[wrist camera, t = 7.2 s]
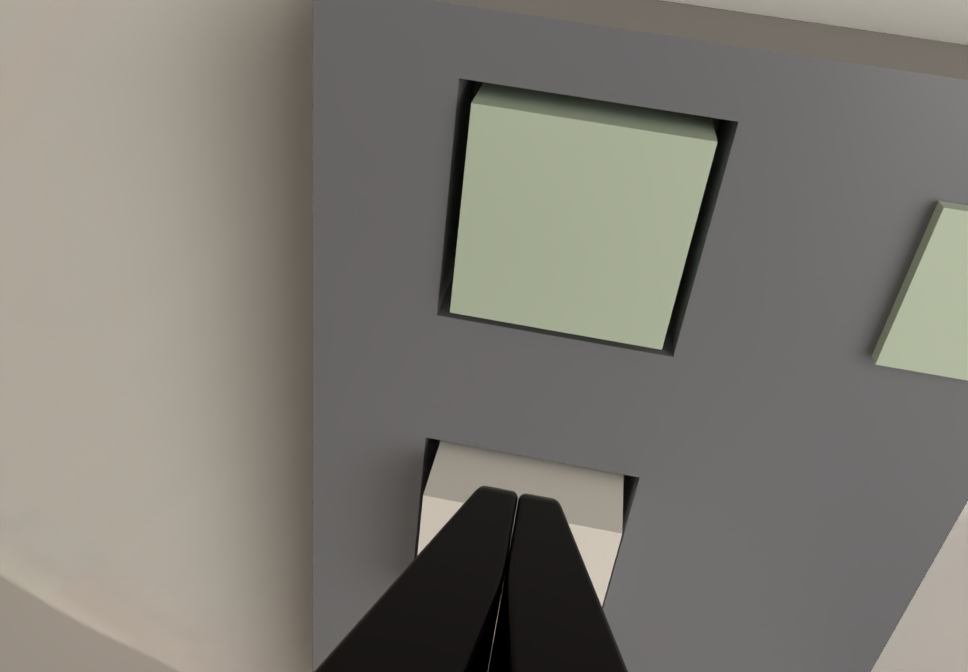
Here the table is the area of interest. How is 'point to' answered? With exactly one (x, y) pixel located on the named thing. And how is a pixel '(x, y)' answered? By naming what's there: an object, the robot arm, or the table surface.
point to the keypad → (691, 331)
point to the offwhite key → (579, 491)
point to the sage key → (578, 213)
